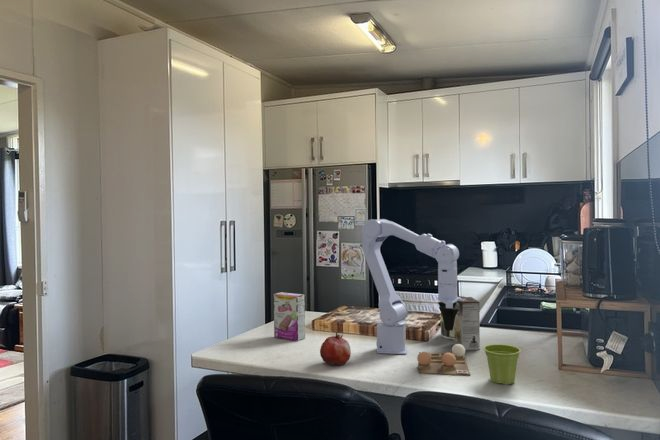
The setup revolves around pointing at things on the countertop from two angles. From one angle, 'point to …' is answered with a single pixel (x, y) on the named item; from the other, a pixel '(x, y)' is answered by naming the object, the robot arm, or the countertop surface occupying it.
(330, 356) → the fruit
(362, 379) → the countertop surface
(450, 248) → the robot arm
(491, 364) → the plant pot
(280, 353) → the countertop surface
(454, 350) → the cream ball
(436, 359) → the board
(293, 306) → the candy bar box
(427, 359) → the terracotta ball
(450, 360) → the terracotta ball
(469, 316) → the coffee box
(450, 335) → the coffee can
